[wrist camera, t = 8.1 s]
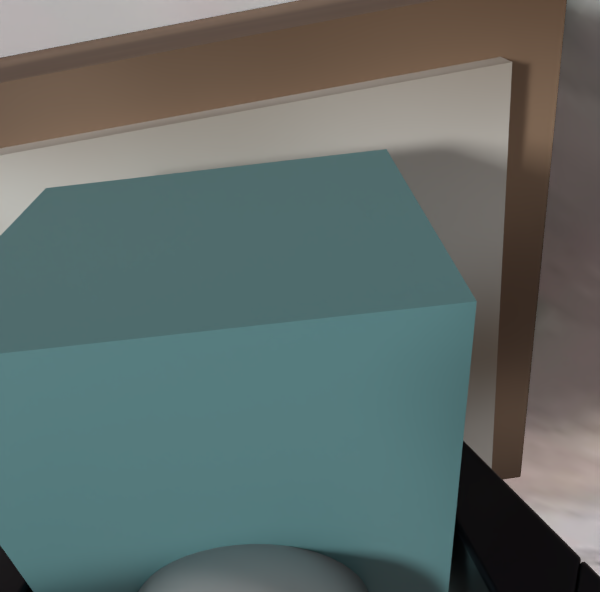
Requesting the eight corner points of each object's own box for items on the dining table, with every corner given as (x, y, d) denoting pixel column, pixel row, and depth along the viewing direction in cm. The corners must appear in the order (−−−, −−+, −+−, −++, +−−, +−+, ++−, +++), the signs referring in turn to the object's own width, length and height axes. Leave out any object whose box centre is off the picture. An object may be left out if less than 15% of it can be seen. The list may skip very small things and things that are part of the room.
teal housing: (182, 543, 13) (138, 836, 8) (46, 188, 8) (-219, 465, 4) (390, 521, 13) (451, 806, 8) (386, 149, 8) (527, 385, 3)
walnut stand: (-25, 62, 13) (-190, 122, 8) (467, -32, 12) (585, -25, 8) (137, 410, 19) (95, 552, 15) (464, 360, 19) (527, 491, 14)
